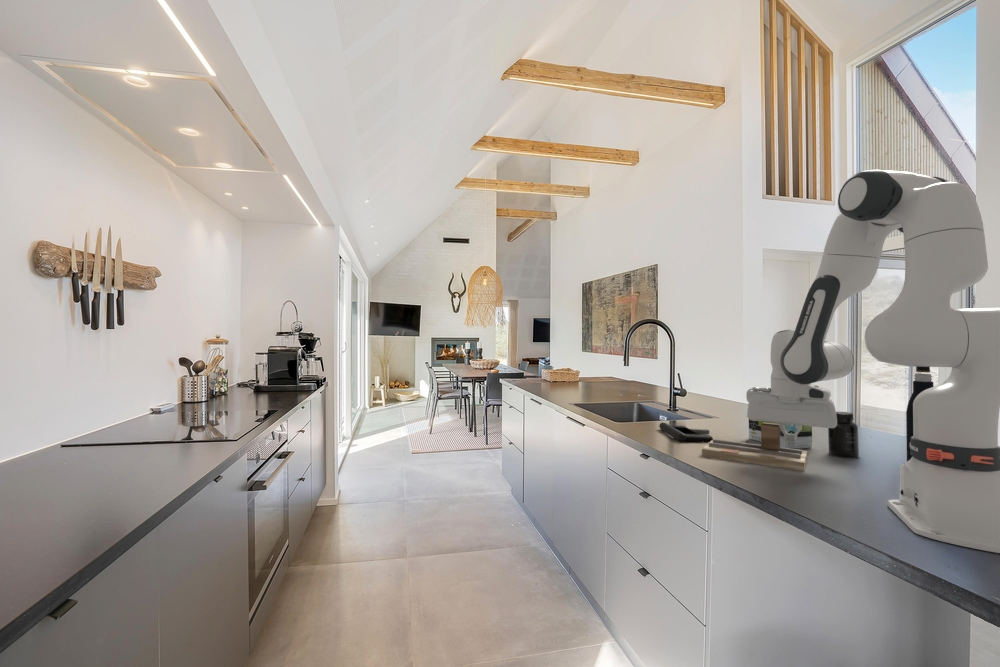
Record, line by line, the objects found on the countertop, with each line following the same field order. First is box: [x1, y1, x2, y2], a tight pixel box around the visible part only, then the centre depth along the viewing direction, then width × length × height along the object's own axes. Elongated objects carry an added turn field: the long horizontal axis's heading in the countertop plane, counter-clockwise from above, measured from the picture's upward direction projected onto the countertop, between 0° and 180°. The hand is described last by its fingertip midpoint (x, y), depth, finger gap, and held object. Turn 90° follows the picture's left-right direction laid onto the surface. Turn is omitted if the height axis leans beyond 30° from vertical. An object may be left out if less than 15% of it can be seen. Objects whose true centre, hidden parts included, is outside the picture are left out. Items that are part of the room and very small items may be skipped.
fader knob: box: [760, 422, 780, 451], centre depth 122 cm, size 5×4×7 cm
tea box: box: [748, 418, 813, 449], centre depth 141 cm, size 15×10×15 cm
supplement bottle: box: [827, 411, 860, 459], centre depth 126 cm, size 7×7×12 cm
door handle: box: [657, 422, 714, 443], centre depth 152 cm, size 3×20×16 cm
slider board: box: [701, 438, 808, 472], centre depth 125 cm, size 14×24×3 cm, turn 53°
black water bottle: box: [905, 367, 934, 462], centre depth 112 cm, size 6×6×30 cm
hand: (790, 440), depth 120 cm, fingers closed
